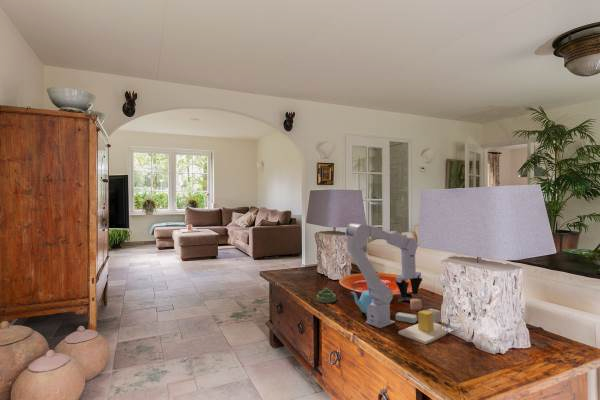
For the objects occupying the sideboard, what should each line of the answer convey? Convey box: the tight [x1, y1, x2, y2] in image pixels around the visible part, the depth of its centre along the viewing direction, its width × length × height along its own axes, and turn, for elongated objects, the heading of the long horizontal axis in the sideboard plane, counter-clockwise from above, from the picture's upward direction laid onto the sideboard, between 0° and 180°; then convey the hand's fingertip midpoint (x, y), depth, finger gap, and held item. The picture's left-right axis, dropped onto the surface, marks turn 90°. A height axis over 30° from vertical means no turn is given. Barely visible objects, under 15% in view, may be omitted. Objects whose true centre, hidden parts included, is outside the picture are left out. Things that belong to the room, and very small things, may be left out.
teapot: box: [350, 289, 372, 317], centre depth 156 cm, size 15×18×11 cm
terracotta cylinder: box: [409, 298, 423, 312], centre depth 159 cm, size 5×5×4 cm
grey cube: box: [426, 308, 442, 324], centre depth 143 cm, size 4×4×4 cm
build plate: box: [397, 291, 413, 303], centre depth 172 cm, size 12×7×5 cm, turn 75°
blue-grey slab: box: [395, 311, 418, 324], centre depth 146 cm, size 8×4×2 cm, turn 55°
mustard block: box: [417, 309, 434, 333], centre depth 132 cm, size 4×4×7 cm
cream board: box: [397, 323, 448, 345], centre depth 132 cm, size 18×12×1 cm, turn 125°
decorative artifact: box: [316, 287, 337, 304], centre depth 178 cm, size 10×7×10 cm
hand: (409, 295), depth 149 cm, fingers open, 7 cm apart
